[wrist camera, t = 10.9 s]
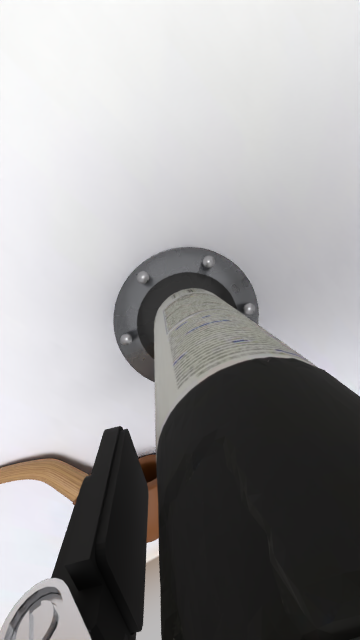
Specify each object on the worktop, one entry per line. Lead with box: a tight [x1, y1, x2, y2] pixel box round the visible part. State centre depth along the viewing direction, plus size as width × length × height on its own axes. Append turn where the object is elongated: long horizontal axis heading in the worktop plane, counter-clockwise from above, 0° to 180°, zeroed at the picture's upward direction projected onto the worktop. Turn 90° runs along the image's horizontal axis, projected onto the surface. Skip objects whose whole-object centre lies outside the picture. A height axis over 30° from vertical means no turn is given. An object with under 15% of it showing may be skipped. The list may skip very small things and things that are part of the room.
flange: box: [114, 247, 259, 382], centre depth 23 cm, size 13×13×1 cm
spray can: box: [154, 288, 360, 640], centre depth 13 cm, size 7×7×20 cm
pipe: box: [0, 455, 159, 543], centre depth 25 cm, size 8×19×6 cm, turn 88°
